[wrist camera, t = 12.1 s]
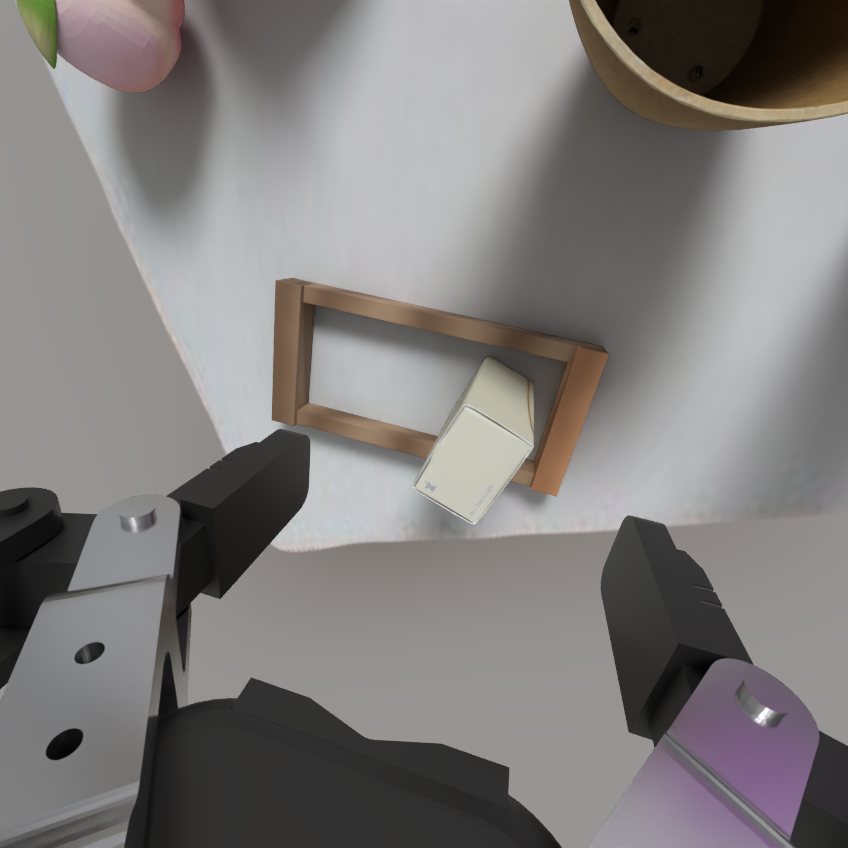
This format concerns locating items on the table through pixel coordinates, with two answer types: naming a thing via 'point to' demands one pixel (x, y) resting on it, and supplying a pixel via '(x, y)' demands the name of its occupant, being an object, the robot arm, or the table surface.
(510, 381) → the skincare box
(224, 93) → the table surface
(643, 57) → the plant pot
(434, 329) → the rectangular wooden frame
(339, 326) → the table surface
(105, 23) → the decorative fruit
